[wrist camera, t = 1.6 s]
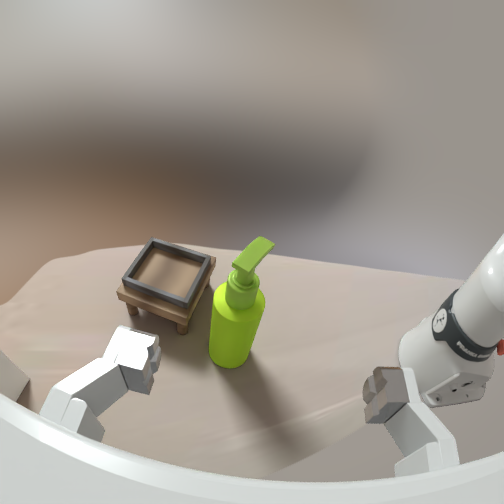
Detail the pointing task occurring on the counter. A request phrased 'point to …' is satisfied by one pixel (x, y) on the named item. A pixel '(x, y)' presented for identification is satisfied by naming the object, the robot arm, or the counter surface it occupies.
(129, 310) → the stool
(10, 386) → the milk
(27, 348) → the counter surface
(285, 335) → the counter surface
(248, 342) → the soap dispenser
